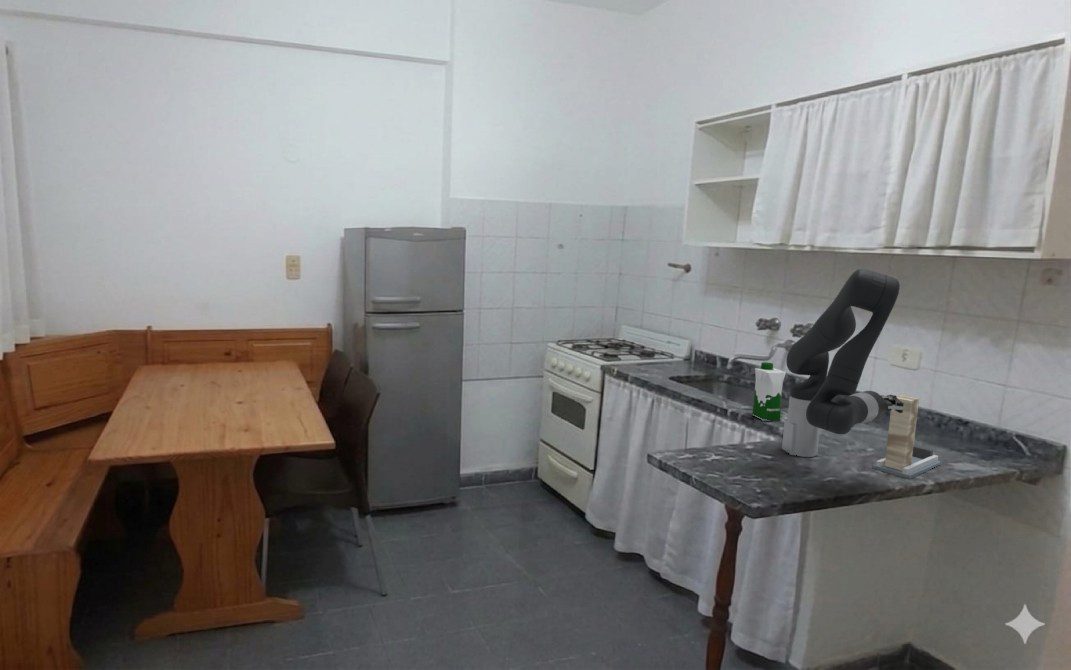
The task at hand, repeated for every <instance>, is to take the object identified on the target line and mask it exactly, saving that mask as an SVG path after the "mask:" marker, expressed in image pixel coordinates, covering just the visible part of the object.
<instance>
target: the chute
mask: <svg viewBox="0 0 1071 670" xmlns="http://www.w3.org/2000/svg"><path fill="white" fill-rule="evenodd" d="M884 465H885V457H883V458H880V459H879V460H876V463H874V464H873V465H872V470H877V471H879V472H884V473H887V474H890V475H894V476H897V477H901V478H904V479H908V480H911V479H913V478H915V476H916V477H918V476H920V475H922V474H924V473H927V472H928V470H929V471H931V470H933V469H935V468H937V467H939V466H938V465H940V466H941V465H942V461H941V460H939V455H936V454H934V450H933V449H930V448H925V447H921V446H918V445H914V446H913V454H912V462H911V465H909V466H907V467H904V468H903V470H902V471H900V470H897V469H893V468H890V467H886V466H884ZM936 466H937V467H936ZM934 467H935V468H934ZM932 468H933V469H932ZM930 469H931V470H930ZM923 472H924V473H923ZM921 473H922V474H921ZM919 474H920V475H919ZM917 475H918V476H917Z"/></svg>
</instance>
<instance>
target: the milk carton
mask: <svg viewBox="0 0 1071 670" xmlns="http://www.w3.org/2000/svg"><path fill="white" fill-rule="evenodd" d="M754 372H755V373H754V374H755V384H754V385H755V386H754V397H753V406H752V407H753V408H752V414H754V415H756V416H758V417H760V418H762V419H767V420H780V421H781V414H782V413H781V409H782V408H781V404H782V395H783V394H782V393H783V384H784V380H785V376H786V373H787V372H786V371H784V370H781V369H778V368H774V363H773V362H767V361H766V362H765V361H764V362H761V365H760V367H758V368H754Z"/></svg>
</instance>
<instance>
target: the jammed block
mask: <svg viewBox="0 0 1071 670" xmlns="http://www.w3.org/2000/svg"><path fill="white" fill-rule="evenodd" d="M896 396H897V399H899V400H900V401H901V402H903V403H904V406H903V413H899V412H897V411H894V409H892V410H891V411H890V417H889V425H888V431H887V442H886V449H885V450H886V451H885V457H884V458H885V465H884V466H886V467H890V468H893V469H897V470H900V471H902V470H903V468H904V467H907V466H909V465H911V462H912V454H913V446H915V438H916V437H915V436H916V428H917V419H918V411H919V404H920V398H918V397H911V396H907V395H901V394H899V395H896Z"/></svg>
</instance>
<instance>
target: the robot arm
mask: <svg viewBox="0 0 1071 670" xmlns="http://www.w3.org/2000/svg"><path fill="white" fill-rule="evenodd" d="M900 287H901V286H900V281H899V279H897V278H895V277H893V276H890V275H886V274H884V273H880V272H877V271H873V270H870V269H866V268H865V269H864V268H859V269H857V270H855V271H853V272H852V273H851V275H850V276H849V277H848V278H847V280H846V281H845V283H844V285H843V286H842V288H841V289H840V291H839V292H838V294H837V296H836V297H835V298H834V299H833V301H832V302H831V304H830V305H829V306H828V307H827V308H826V309H825V311H823V313H822V314H821V315H820V316H819V317H818V319H817V320H816V321H815V322H814V323H813V325H812V326H811V327H810V328H809V330H808V331H807V332H806V333H805V334H804V335H803V336H802V337H800V338H799V340H798V339H797V341H796V342H794V344H792V346H791V347H790V349H789V350H788V353H787V355H786V366H787V370H789V372H790V373H792V374H794V375H797V376H798V375H799V376H809V377H808V378H807V379H805V380H804V381H803V382H800V383H797V384H794V385H792V386H790V389H789V397H788V408H787V409H788V411H787V418H785V419H784V424H783V434H782V443H781V449H782V450H783V451H784V452H785V453H787V454H788V453H789V455H790V456H796V455H797V456H796V457H805V458H812V457H813V458H814V457H817V456H818V452H819V451H818V449H819V440H820V430H824V431H827V432H830V433H833V434H836V435H846V434H848V433H849V432H850V431H851V430H852V429H853V428H854V426H855V425H858V424H865V423H868V422H871V421H874V420H878V419H880V418H881V417H883V415H884V414H885V413H886V412H891V410H892V409H894V411H897V412H899V413H903V406H904V403H903V402H901V401H900V400H899V399H897V396H898V395H893V394H888V395H885V394H883V395H882V394H880V393H878V392H877V391H874V390H865V391H861V392H856V391H857V389H858V386H859V384H860V380H861V377H862V375H863V371H864V368H865V366H866V364H867V362H868V361H867V360H868V358H869V356H870V354H871V353H872V350H873V348H874V346H875V344H876V342H877V340H878V338H879V337H880V335H881V333H882V332H883V329H884V327H885V325H886V324H887V320H888V319H889V318H890V314H891V313H892V311H893V308H894V306H895V305H896V302H897V300H898V296H899V293H900ZM852 307H854V308H858V309H861V310H864V311H867V312H870V313H872V314H871V317H870V319H869V320H868V323H866V325H865V326H864V328H862V329H861V330H860V331H859V332H858V333H857V334H855V335H854V333H855V331H856V329H857V328H856V326H857V322H856V317H855V314H854V311H853V309H852ZM853 335H854V337H852V336H853ZM851 337H852V338H851ZM850 338H851V339H850ZM837 349H838V350H837ZM834 350H837V351H836V352H835V354H834V356H833V358H832V360H831V363H830V353H829V352H832V351H834ZM829 363H830V367H829ZM836 396H844V397H840V398H839V399H837V400H835V401H832V400H833V399H834V398H835V397H836Z"/></svg>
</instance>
